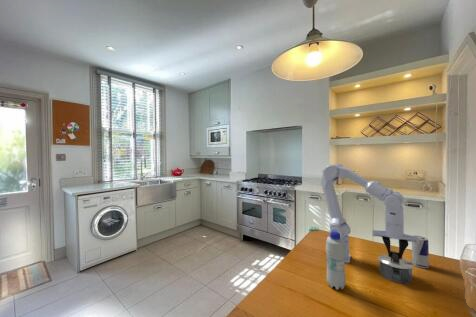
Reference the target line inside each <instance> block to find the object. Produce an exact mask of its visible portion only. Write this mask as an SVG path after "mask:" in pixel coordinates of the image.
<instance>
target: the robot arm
mask: <svg viewBox="0 0 476 317" xmlns="http://www.w3.org/2000/svg"><path fill="white" fill-rule="evenodd" d="M340 178H341V179H342V178H344V179H348V180H350V181H352V182H354V183H355V184H357V185H359V186H361V187H363V188H364V189H365V192H366V193H367V194H369V195H371V196H372V197H374V198H376V199H377V200H379V201H380V202H383V204H384V205H385V212H384V214H385V218H384V219H385V220H384V222H385V230H375V229H372V237H378V238H379V237H381V238H382V241H383V243H384V246H385V247H386V248H385V249H386V251H387V255H388V256H389V257H391V251H392V250H391V239H392V240H398V253H399V259H402V258H403V255H404V253H405V250H406V249H407V248H408V246H409V243H410V242H411V243H412V242H415V243H418V244H419V238H418V237H416V236H417V235H410V234H406V233H405V232H404V230H405V229H404V228H405V226H404V222H405V221H404V220H405V219H404V206H403V205H404V202H405V197H404V196H403V194H401V193H400V192H399V191H394V189H392V188H388V187H387V186H385V185H383V184H382V182H381V181H379V180H378V181H376V180H371V181H370V180H369V179H368V180H367V179H366V178H364V177H363V176H361V175H360V174H359V173H357V172H355V171H353V170H352V169H350V168H348V167H347V166H343V165H342V164H340V163H336V164H328V165H326V166H325V167H324V168H323V170H322V176H321V181H320V185H321V188H322V192H323V195H324V199H325V203H326V207H327V211H328V214H329V218H330V221H329V234H330V233H331V232H332V231H335V232H338V233H339V234H340V239H341V240H343V241H344V244H345V250H346V252H345V254H346V255H345V263H347V264H350V262H351V256H352V255H351V254H350V238H349V235H350V234H351V227H350V226H349V224H348V223H347V220H346V219H345V218H344V217H343V214H342V210H341V205H340V202H339V200H338V196H337V193H336V192H337V191H336V188H335V183H336V182H337V180H338V179H340ZM328 238H330V236H327V238H326V240H327V239H328Z"/></svg>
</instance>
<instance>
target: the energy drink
mask: <svg viewBox="0 0 476 317" xmlns="http://www.w3.org/2000/svg"><path fill="white" fill-rule="evenodd" d="M415 236H416V237H418V238H419V244H418V243H415V242H411V259H412V260H411V263H412V264H413V266H415V267H417V268H420V269H428V268H429V267H430V264H429V263H430V262H429V261H430V256H429V255H430V253H429V240H428V238H427V237H425V236H420V235H415Z"/></svg>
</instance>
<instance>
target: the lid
mask: <svg viewBox="0 0 476 317" xmlns="http://www.w3.org/2000/svg"><path fill="white" fill-rule="evenodd" d="M390 251H391V257H389V256H388V254H380V255H378V256H377V259H378V262H379V261H380V262H381V263H383V264H385V265H387V266H390V267H393V268H397V269H403V270H411V269H412V270H413V269H414V265H413V263H412V261H410V260H408V259H405V258H403V257H402V259H399V251H396V250H395V251H394V250H390Z"/></svg>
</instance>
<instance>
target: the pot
mask: <svg viewBox="0 0 476 317" xmlns="http://www.w3.org/2000/svg"><path fill="white" fill-rule="evenodd" d="M378 262H379V274H380V275H381V276H382V277H383V278H385V279H387V280H389V281H391V282H394V283H398V284H407V285H409V284H411V283H412V282H413V269H411V270H403V269H397V268H393V267H390V266H387V265H385V264H383V263H381V262H380V261H379V260H378Z"/></svg>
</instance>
